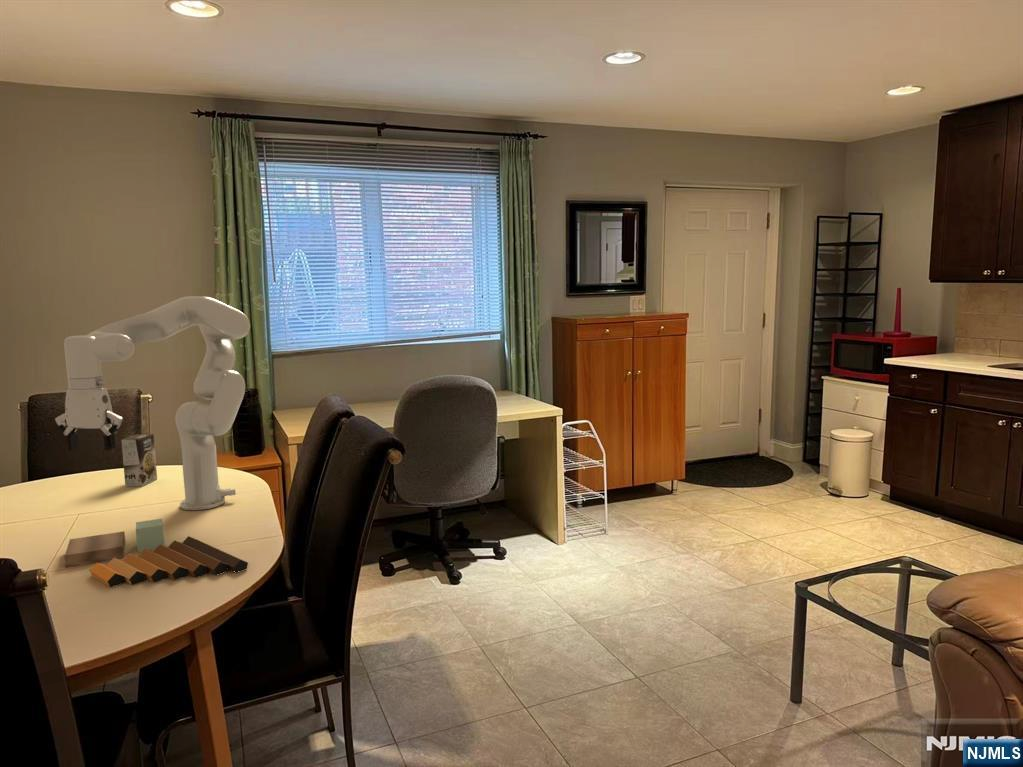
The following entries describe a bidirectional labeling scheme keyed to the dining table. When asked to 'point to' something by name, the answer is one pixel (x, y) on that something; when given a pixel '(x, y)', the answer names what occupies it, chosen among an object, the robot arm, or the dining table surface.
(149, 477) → the coffee box
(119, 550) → the walnut stand
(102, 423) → the robot arm
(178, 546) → the pan flute
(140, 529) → the sage cube
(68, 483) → the dining table surface
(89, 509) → the dining table surface
